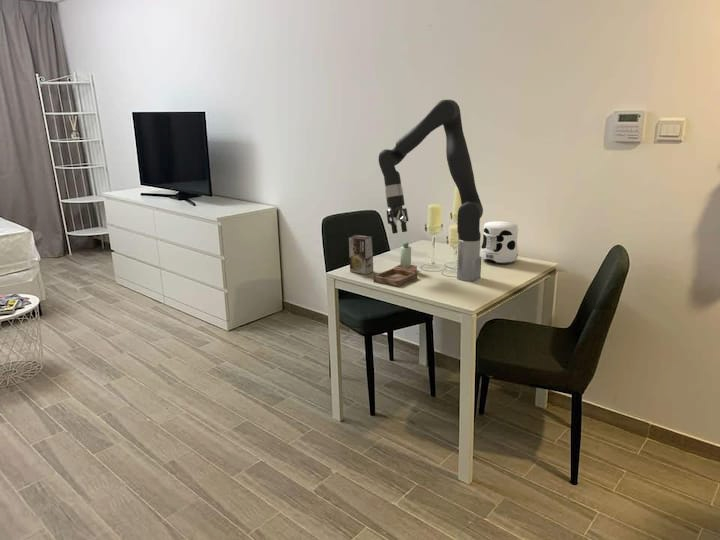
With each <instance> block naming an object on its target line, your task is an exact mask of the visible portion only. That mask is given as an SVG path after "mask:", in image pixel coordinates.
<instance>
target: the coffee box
mask: <svg viewBox="0 0 720 540" xmlns="http://www.w3.org/2000/svg"><path fill="white" fill-rule="evenodd" d="M373 238H374V237H373V236H369V235H363V234H362V235H361V234H354V235H352V236H350V237H348V247H349V248H348V250H349V251H348V252H349V272H350V271H351V273H356V274H363V275H367V274H369V273H372V272H374V251H373V250H374V245H373V244H374V243H373V240H374V239H373Z"/></svg>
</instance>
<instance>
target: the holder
mask: <svg viewBox="0 0 720 540" xmlns="http://www.w3.org/2000/svg"><path fill="white" fill-rule="evenodd" d="M393 268H395V269H400V270H405V271H411V272H417V270H418V265H416V264H411V268H409V269H405V268H400V264H397V265H395V266H393Z"/></svg>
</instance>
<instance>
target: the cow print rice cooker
mask: <svg viewBox="0 0 720 540" xmlns="http://www.w3.org/2000/svg"><path fill="white" fill-rule="evenodd" d="M518 226H519V225H518V224H517V223H516V222H515V223H514V222H511V221H500V220H499V221H488V222H485V223H484V224H483V233H482V236H483V237H482V244H481V246H480V256H481V260H483V261H484V262H486V263H489V264H494V265H507V264H512V263H515V262H516V261H517V260H518V256H519V249H518V248H519V247H518V231H519V227H518Z"/></svg>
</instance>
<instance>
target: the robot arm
mask: <svg viewBox="0 0 720 540" xmlns="http://www.w3.org/2000/svg"><path fill="white" fill-rule="evenodd" d="M461 115H462V113H461V109H460V105H459V104H458V103H457V102H456V101H455V100H453V99H442V100H439V101H438V102H437V103H436V104H435V105H434V106H433V107H432V108H431V110H430V111H428V113H427V114H426V115H425V117H424V118H423V119H422V120H420V121H419V122H418V123H417V124H416V125H415V126H413V127H412V128H411V129H410V130H408V131H407V132H406V133H404V135H403V136H401V137H400V138H399V139H397V141H396V143H395V146H394V147H393V148H391V149H382V150H381V151H380V152H379V155H378V165H379V168H380V170H381V174H382V175H383V180H384V187H385V188H384V189H385V198H386V203H387V204H386V207H387V208H390V209H386V218H387V224H390V226H391V232H392V234H394V235H395V234H398V232H399V231H398V225H397V223H398V221H399V222H400V227H401V233H405V232H408V228H407V223H408V222H409V215H408V211H407V210H408V209H407V207H404V208H403V206H405V198H404V197H405V196H404V191H403V187H402V180H401V174H400V172H399V171H397V170H396V167H395V166H397V165H398V164H400V163H401V162H402V161H404V158H406V156H407V154H409V153H411V152H412V151H413V150H414V149H416V148H417V147H418V146H419V145H420V144H421V143H422V142H423V141H424V140H425V139H426V138H427V137H428V136H429V135H430V134H431V133H432V132H433V131H435V130H436V129H438V128H439V127H441V126H443V129H444V133H445V138H446V145H445V146H446V149H445V150H446V151H445V152H446V153H445V154H446V155H445V156H446V161H447V165H448V170H449V173H450V175H451V177H452V180H453V182H454V184H455V185H456V188H457V190H458V192H459V193H458V194H459V197H460V203H461V205H460V207H459V208H458V210H457V219H456V220H457V223H456V224H457V227H456V228H457V229H456V230H457V236H458V238H457V239H458V240H457V263H456V264H457V265H456V266H457V267H456V279H458V280H460V281H465V282H476V281H477V280H479V279H481V274H482V273H481V272H482V258H481V238H482V237H481V232H480V223H481V218H482V216H483V214H484V208H483V205H482V201H481V198H480V196H479V194H478V190H477V185H476V182H475V174H474V170H473V164H472V160H471V157H470V153H469V148H468V145H467V141H466V138H465V134H464V130H463V124H462V116H461Z"/></svg>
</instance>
